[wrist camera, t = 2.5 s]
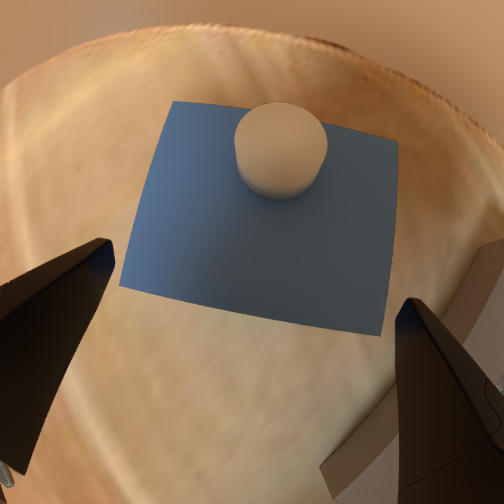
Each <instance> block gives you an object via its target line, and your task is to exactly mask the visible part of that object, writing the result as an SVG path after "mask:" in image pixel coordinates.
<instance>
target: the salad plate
mask: <svg viewBox="0 0 504 504" xmlns="http://www.w3.org/2000/svg"><path fill="white" fill-rule="evenodd" d="M0 482H1V483H2V484H3V485H4V486H5V487H7V488H12V487H14V479H13V477H12V473H11V471H10V468H9V466H8V465H6V464H5V463H3V462H2V461H0Z"/></svg>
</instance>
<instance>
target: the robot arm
mask: <svg viewBox="0 0 504 504" xmlns="http://www.w3.org/2000/svg"><path fill="white" fill-rule="evenodd" d="M114 267H115V257H114V250H113V244H112V241H111V240H110V239H105V238H97V239H95V240H92V241H90V242H88V243H86V244H84V245H82V246H79V247H77V248H75V249H73V250H71V251H69V252H67V253H65V254H63V255H60V256H58V257H56V258H54V259H52V260H50V261H48V262H46V263H44V264H42V265H40V266H38V267H36V268H34V269H32V270H30V271H28V272H26V273H24V274H22V275H20V276H19V277H17V278H15V279H13V280H11V281H9V283H8V282H7V283H5V284H3V285H1V286H0V461H2V462H3V463H5V464H6V465H8V466H9V467H11V468H12V469H14V470H16V471H17V472H19V473H20V474H22V475H24V476H25V474H26V471H27V468H28V465H29V463H30V460H31V457H32V454H33V451H34V448H35V446H36V443H37V440H38V438H39V435H40V432H41V430H42V427H43V425H44V422H45V419H46V417H47V414H48V412H49V410H50V407H51V405H52V402H53V400H54V398H55V395H56V393H57V391H58V388H59V386H60V384H61V382H62V379H63V377H64V375H65V373H66V371H67V369H68V366H69V364H70V362H71V360H72V358H73V356H74V354H75V352H76V350H77V348H78V346H79V344H80V341H81V339H82V337H83V335H84V333H85V332H86V330H87V328H88V326H89V324H90V322H91V320H92V318H93V316H94V314H95V312H96V310H97V308H98V306H99V304H100V301H101V299H102V296H103V294H104V291H105V289H106V287H107V284H108V282H109V279H110V277H111V275H112V272H113V270H114ZM395 374H396V387H397V403H398V428H399V478H398V499H397V504H504V396H503V395H502V394H501V393H500V391H499V390H498V389H497V388H496V386H495V385H494V384H493V383H492V381H491V380H490V379H489V378H488V376H486V374H485V373H484V371H483V370H482V369H481V368H480V367H479V365H478V364H477V363H476V362H475V360H474V359H473V358H472V357H471V356H470V354H469V353H468V352H467V351H466V350H465V349H464V347H463V346H462V345H461V344H460V343H459V342H458V340H457V339H456V338H455V337H454V336H453V335H452V333H451V332H450V331H449V330H448V329H447V328H446V327H445V326H444V324H443V323H442V322H441V321H440V320H439V319H438V318H437V317H436V316H435V314H434V313H433V312H432V311H431V310H430V309H429V308H428V307H427V306H426V305H425V304H424V302H423V301H422V300H421V299H418V298H412V297H409V298H407V299H406V301H405V302H404V304H403V306H402V308H401V309H400V311H399V313H398V315H397V317H396V320H395ZM6 503H7V502H6V499H5V496H4V493H3V491H2V488H1V485H0V504H6Z"/></svg>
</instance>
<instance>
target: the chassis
mask: <svg viewBox="0 0 504 504" xmlns="http://www.w3.org/2000/svg"><path fill="white" fill-rule="evenodd" d="M440 321H441V322H442V323H443V324H444V326H445V327H446V328H447V329H448V330H449V331H450V332H451V333H452V335H453V336H454V337H455V338H456V339H457V340H458V342H459V343H460V344H461V345H462V346H463V347H464V349H465V350H466V351H467V352H468V353H469V354H470V356H471V357H472V358H473V359H474V360H475V362H476V363H477V364H478V365H479V367H480V368H481V369H482V370H483V371H484V373H485V374H486V376H488V378H489V379H490V380H491V381H492V383H493V384H494V385H495V386H496V385H497V384H498V385H499V386H500V387H501V389H502V390H503V391H504V239H502V240H499V241H496V242H493V243H490V244H487V245H484V246H481V247H480V249H479V251H478V253H477V255H476V257H475V259H474V261H473V263H472V265H471V267H470V269H469V271H468V273H467V275H466V276H465V278H464V280H463V282H462V284H461V286H460V287H459V289H458V291H457V293H456V294H455V296H454V298H453V299H452V301H451V303H450V305H449V306H448V308H447V309H446V311H445V313H444V314H443V316H442V318H441V319H440ZM319 468H320V470H321V472H322V475H323V477H324V479H325V482H326V484H327V486H328V489H329V491H330V493H331V496H332V498H333V500H335V501H337V502H338V503H340V504H397V499H398V478H399V428H398V403H397V387H396V383H395V384H394V386H393V387H392V388H391V390H390V391H389V392H388V393H387V395H386V396H385V397H384V398H383V399H382V401H381V402H380V403H379V404H378V405H377V407H376V408H375V409H374V410H373V411H372V412H371V414H370V415H369V416H368V417H367V418H366V419H365V420H364V422H363V423H362V424H361V425H360V426H359V427H358V428H357V429H356V430H355V432H354V433H353V434H352V435H351V436H350V437H349V438H348V439H347V440H346V441H345V442H344V443H343V444H342V445H341V446H340V447H339V448H338V449H337V450H336V451H335V452H334V453H333V454H332V455H331V456H330V457H329V458H328V459H327V460H326V461H325V462H324V463H323V464H322V465H321V466H320V467H319Z"/></svg>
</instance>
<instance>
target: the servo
mask: <svg viewBox="0 0 504 504" xmlns="http://www.w3.org/2000/svg"><path fill="white" fill-rule="evenodd" d="M397 183H398V142H396V141H392V140H389V139H385V138H382V137H378V136H375V135H371V134H367V133H363V132H360V131H356V130H352V129H348V128H344V127H340V126H335V125H331V124H326V123H322V122H319V121H318V119H317V118H316V117H315V116H314V115H312V114H311V113H310V112H308V111H307V110H305V109H303V108H301V107H299V106H296V105H293V104H289V103H281V102H276V103H268V104H264V105H261V106H258V107H256V108H254V109H253V110H251V109H244V108H237V107H229V106H221V105H212V104H202V103H191V102H179V101H173V103H172V106H171V108H170V111H169V114H168V116H167V119H166V122H165V125H164V127H163V130H162V133H161V136H160V139H159V142H158V145H157V147H156V150H155V153H154V156H153V160H152V163H151V166H150V169H149V172H148V175H147V179H146V182H145V185H144V188H143V192H142V195H141V199H140V202H139V206H138V209H137V213H136V217H135V220H134V224H133V228H132V232H131V236H130V240H129V244H128V248H127V252H126V256H125V261H124V265H123V269H122V274H121V279H120V283H119V286H122V287H126V288H130V289H134V290H138V291H142V292H146V293H150V294H154V295H159V296H163V297H167V298H171V299H176V300H180V301H185V302H189V303H194V304H198V305H203V306H207V307H212V308H217V309H222V310H227V311H232V312H236V313H242V314H247V315H252V316H257V317H262V318H268V319H273V320H278V321H284V322H290V323H295V324H301V325H307V326H313V327H319V328H326V329H332V330H338V331H345V332H352V333H359V334H366V335H373V336H381V331H382V326H383V320H384V314H385V308H386V301H387V294H388V287H389V280H390V272H391V263H392V254H393V244H394V233H395V220H396V204H397Z"/></svg>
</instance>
